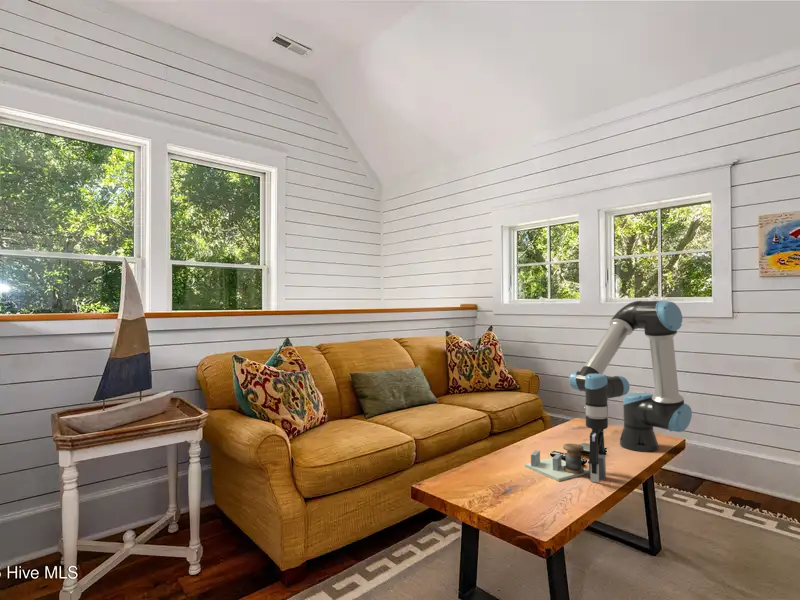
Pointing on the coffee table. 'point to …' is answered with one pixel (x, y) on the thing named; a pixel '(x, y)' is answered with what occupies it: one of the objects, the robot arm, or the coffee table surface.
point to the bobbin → (573, 458)
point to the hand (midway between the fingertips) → (597, 476)
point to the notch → (536, 460)
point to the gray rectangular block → (600, 467)
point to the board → (547, 470)
